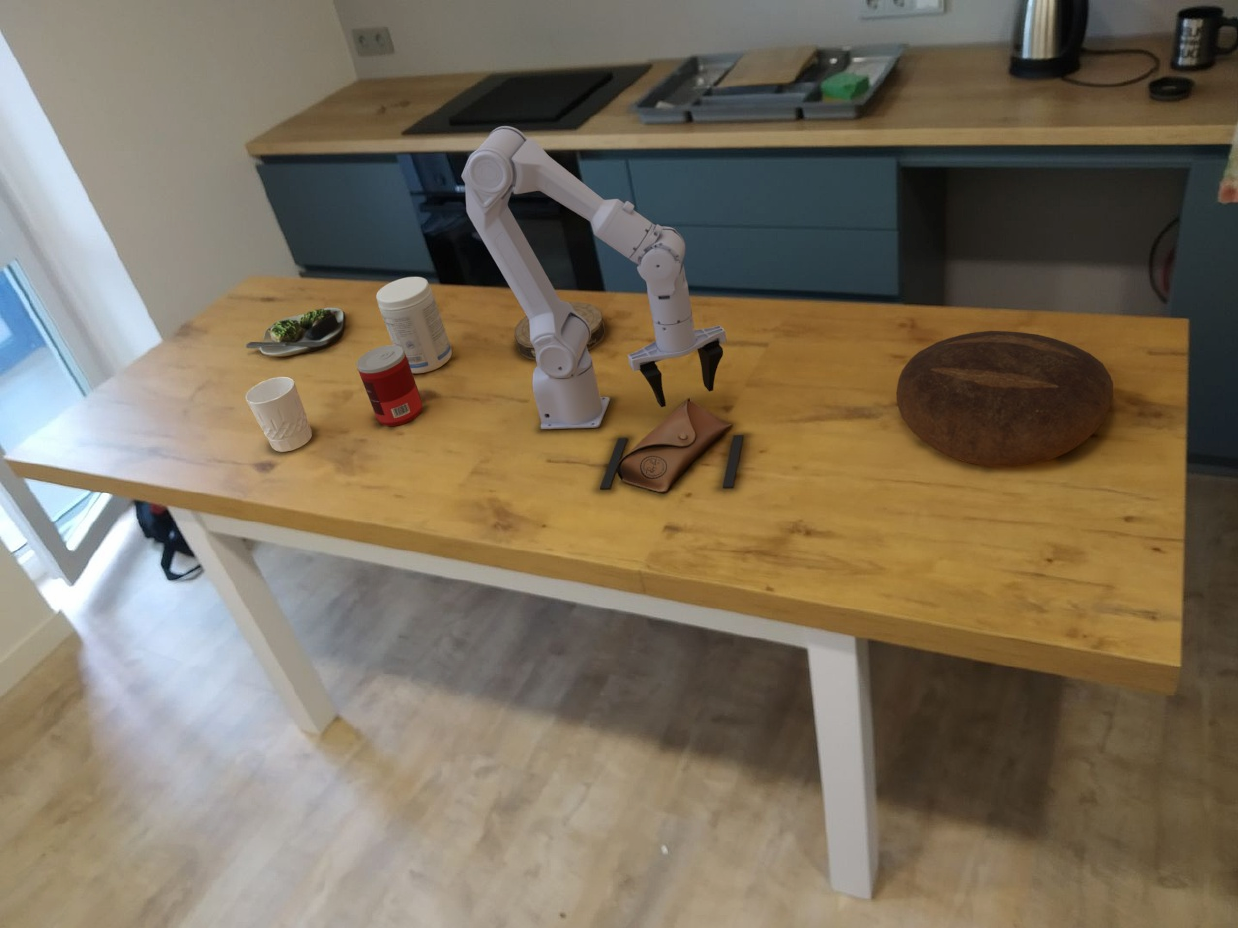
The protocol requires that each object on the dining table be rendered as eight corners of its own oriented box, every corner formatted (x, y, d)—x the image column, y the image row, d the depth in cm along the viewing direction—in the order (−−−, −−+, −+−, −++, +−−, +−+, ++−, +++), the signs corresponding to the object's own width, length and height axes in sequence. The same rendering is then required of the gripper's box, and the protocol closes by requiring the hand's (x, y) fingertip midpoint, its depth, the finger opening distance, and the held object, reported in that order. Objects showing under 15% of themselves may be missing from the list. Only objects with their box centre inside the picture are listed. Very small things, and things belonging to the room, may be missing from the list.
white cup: (273, 460, 159) (249, 408, 154) (265, 439, 165) (241, 389, 160) (320, 441, 162) (298, 390, 156) (310, 421, 168) (288, 371, 162)
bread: (928, 347, 151) (928, 296, 146) (1125, 367, 138) (1133, 311, 133) (868, 452, 133) (866, 398, 128) (1089, 487, 119) (1096, 428, 114)
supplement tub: (439, 342, 183) (416, 270, 175) (462, 359, 176) (439, 284, 168) (392, 364, 179) (366, 291, 171) (414, 381, 173) (388, 306, 164)
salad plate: (243, 373, 188) (233, 352, 185) (256, 331, 203) (247, 311, 200) (342, 349, 188) (334, 328, 186) (348, 310, 203) (341, 289, 200)
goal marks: (600, 489, 137) (599, 487, 137) (618, 439, 146) (618, 438, 146) (733, 488, 132) (732, 486, 132) (743, 436, 141) (743, 434, 141)
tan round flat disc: (545, 314, 185) (541, 300, 183) (620, 319, 178) (617, 304, 176) (501, 357, 174) (497, 342, 172) (579, 364, 167) (576, 349, 165)
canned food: (432, 402, 165) (413, 345, 159) (405, 429, 160) (384, 371, 153) (396, 399, 169) (375, 343, 162) (368, 425, 163) (346, 368, 157)
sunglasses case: (667, 493, 133) (639, 453, 131) (635, 502, 138) (609, 464, 137) (736, 422, 143) (711, 384, 142) (704, 434, 149) (680, 398, 147)
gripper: (708, 290, 144) (719, 369, 152) (615, 319, 142) (631, 398, 150) (727, 308, 139) (737, 390, 146) (630, 339, 136) (646, 420, 144)
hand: (685, 396), depth 148 cm, fingers open, 7 cm apart
